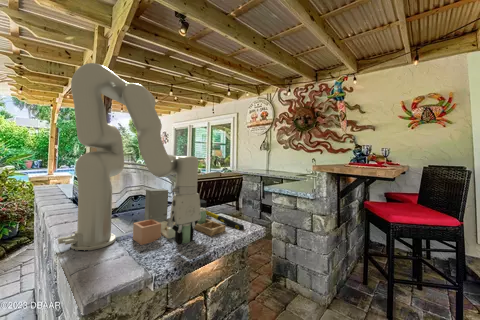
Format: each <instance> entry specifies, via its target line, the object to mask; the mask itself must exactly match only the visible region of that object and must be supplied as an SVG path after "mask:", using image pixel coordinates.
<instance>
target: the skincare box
mask: <svg viewBox="0 0 480 320" xmlns="http://www.w3.org/2000/svg"><path fill="white" fill-rule="evenodd" d="M144 198H145V201H144V218H143V219H144V220H143V221H145V220H150V219H153V220H155V221H157V222H163V221H165V219H168V204H169V189H167V188H166V189H165V188H146V189H145V197H144Z"/></svg>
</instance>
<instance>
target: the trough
mask: <svg viewBox="0 0 480 320" xmlns="http://www.w3.org/2000/svg"><path fill="white" fill-rule="evenodd" d="M226 226H227V224H224V223H220V222H218V221H217V222H216V221H215V220H212V219H209V218H206V223H203V224H198V223H197V224H196V225H195V228H194V230H197V232H198V231H199V232H201V233H203V234H206V235H208V236H210V237H212V236H215V235H218V234H220V233H222V232H225V231H226Z"/></svg>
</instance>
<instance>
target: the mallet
mask: <svg viewBox="0 0 480 320" xmlns="http://www.w3.org/2000/svg"><path fill="white" fill-rule="evenodd" d="M200 208H205V209H206V216H209V217H211V218H213V219H215V220H217V221H218V222H221V223H222V224H224V225H226V226H229V227H231V228H235V229H236V230H240V231H243V230H244V229H245V226H244V224H241V223H239V222H236V221H234V220H232V219H230V218H228V217H225V216H222V215H219V214H216V213H214V212H212V211H209V210H207V201H206V200H205V199H200Z"/></svg>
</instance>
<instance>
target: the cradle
mask: <svg viewBox="0 0 480 320" xmlns="http://www.w3.org/2000/svg"><path fill="white" fill-rule="evenodd" d="M169 219H170V217H167V219H165V221H163V222H159V223H161V236H163V237H165V238H166V239H171V238H175V231H174V230H173V229H172V228H170V227H168V226H167V223H168V221H169ZM173 225H175V222H173ZM167 227H168V228H167ZM166 228H167V231H166Z"/></svg>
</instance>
